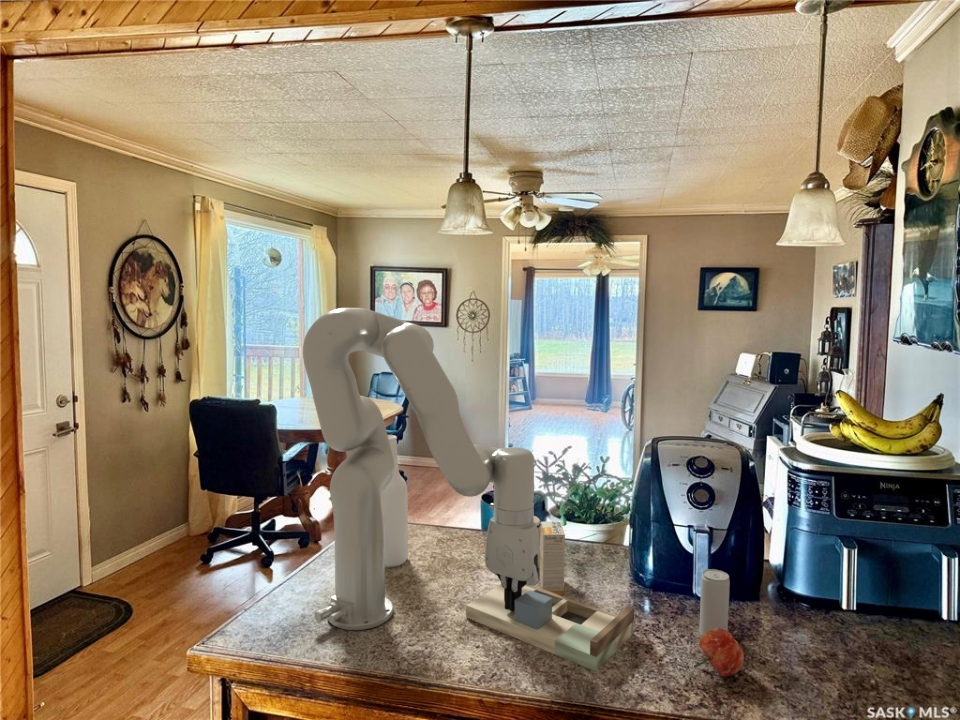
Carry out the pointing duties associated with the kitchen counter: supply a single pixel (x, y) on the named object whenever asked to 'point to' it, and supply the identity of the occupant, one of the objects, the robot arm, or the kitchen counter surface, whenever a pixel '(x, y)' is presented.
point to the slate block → (533, 609)
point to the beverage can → (714, 600)
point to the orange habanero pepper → (722, 651)
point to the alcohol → (395, 515)
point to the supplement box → (552, 557)
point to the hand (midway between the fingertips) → (512, 607)
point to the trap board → (560, 626)
